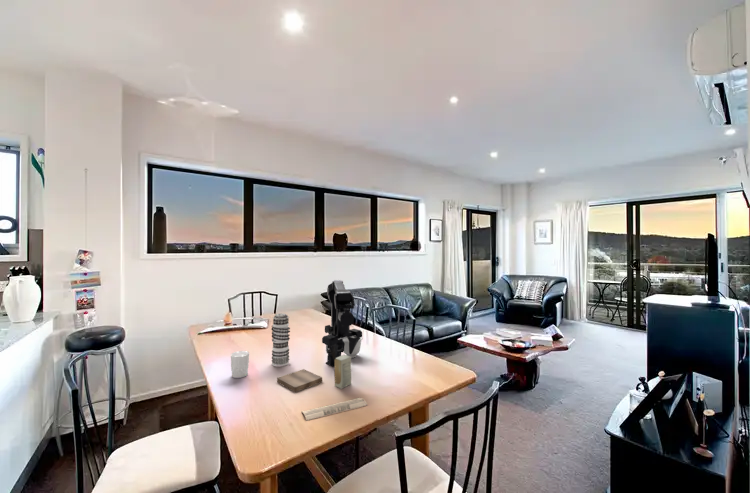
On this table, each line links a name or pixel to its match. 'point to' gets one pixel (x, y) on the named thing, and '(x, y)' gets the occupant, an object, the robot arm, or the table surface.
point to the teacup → (356, 349)
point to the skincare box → (342, 371)
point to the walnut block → (299, 380)
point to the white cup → (239, 364)
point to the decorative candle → (280, 340)
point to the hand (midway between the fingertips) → (342, 356)
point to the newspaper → (334, 408)
